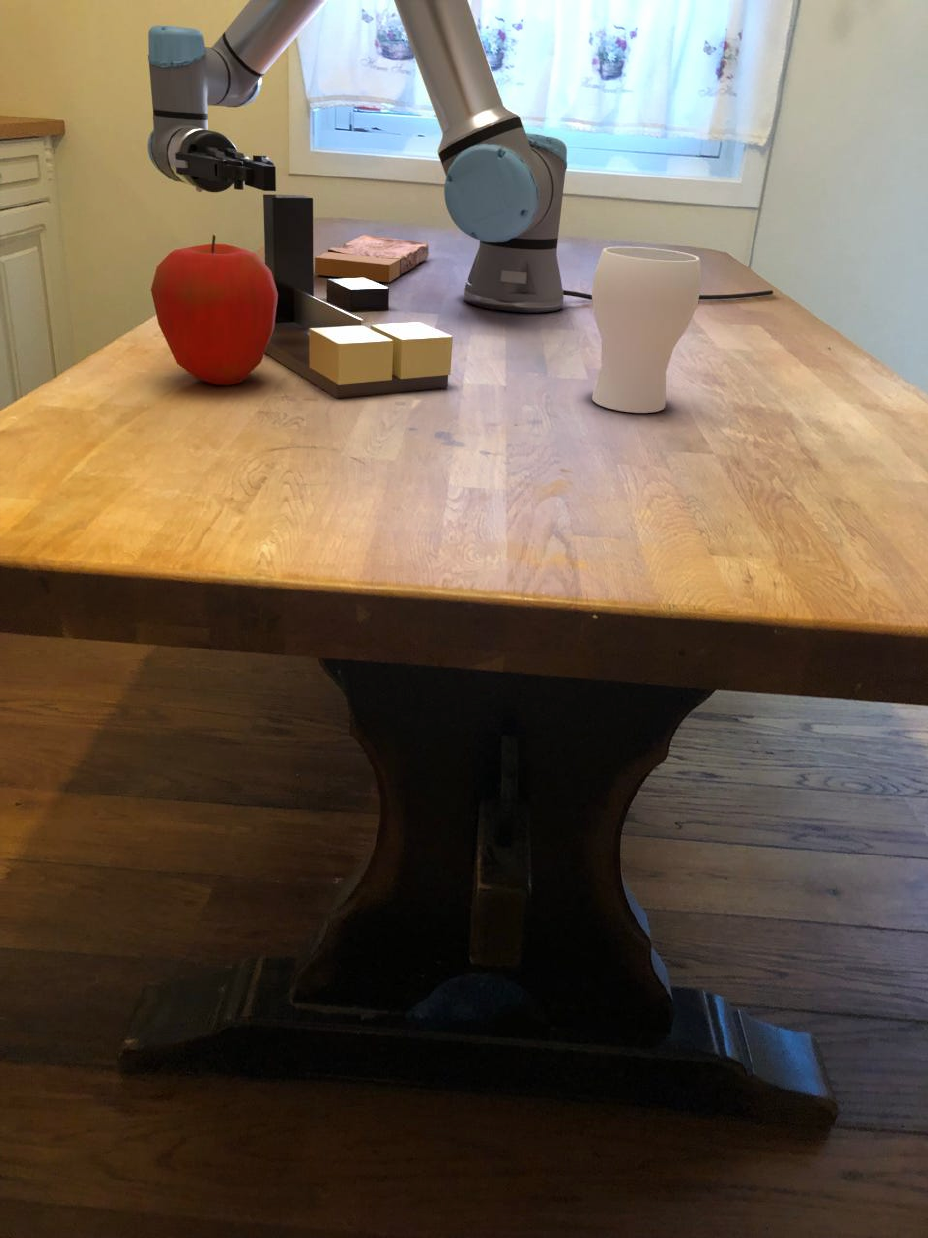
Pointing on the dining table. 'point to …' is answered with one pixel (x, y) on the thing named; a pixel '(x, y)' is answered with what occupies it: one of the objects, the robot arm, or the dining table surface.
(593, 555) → the dining table surface
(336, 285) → the dark rectangular block
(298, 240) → the butter slicer
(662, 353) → the cup
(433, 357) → the butter
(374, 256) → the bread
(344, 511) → the dining table surface
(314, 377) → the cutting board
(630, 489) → the dining table surface
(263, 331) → the apple
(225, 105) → the robot arm
